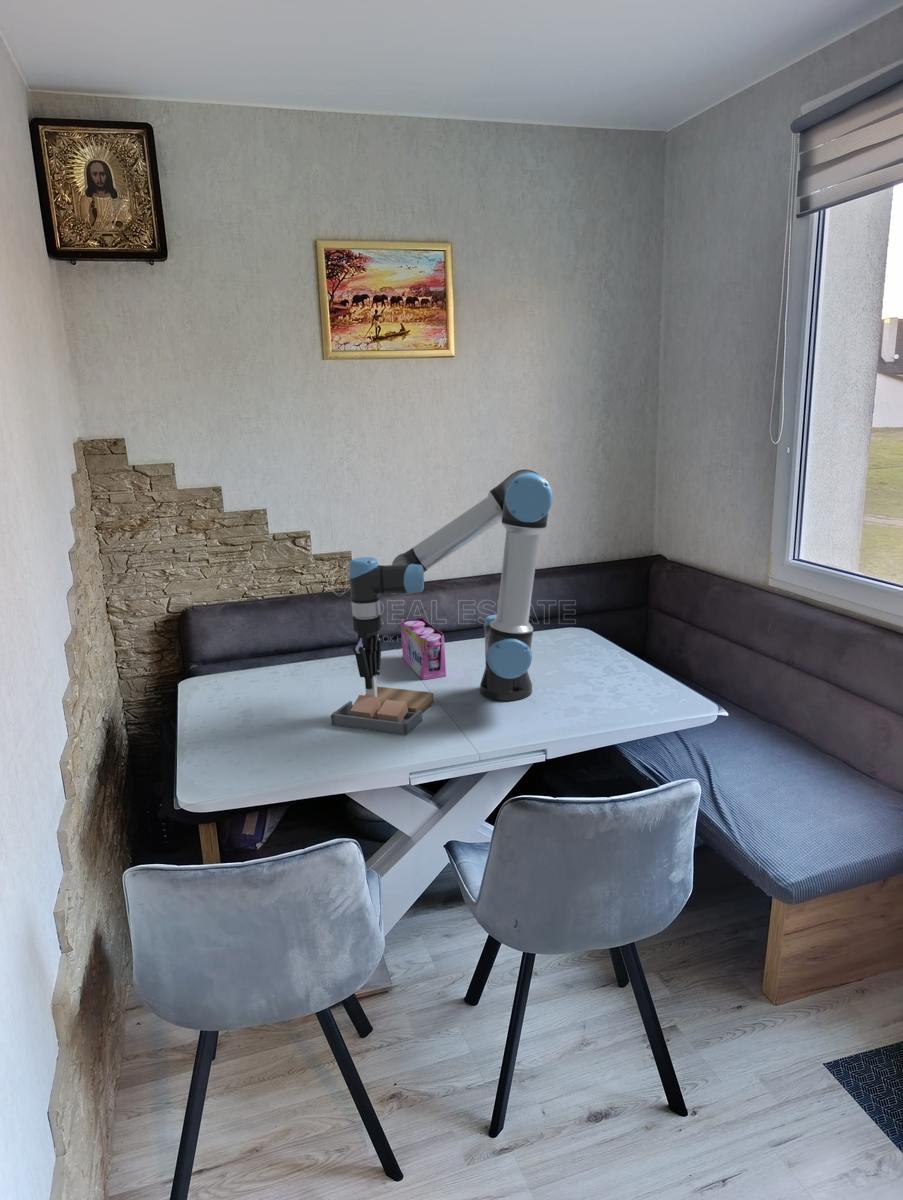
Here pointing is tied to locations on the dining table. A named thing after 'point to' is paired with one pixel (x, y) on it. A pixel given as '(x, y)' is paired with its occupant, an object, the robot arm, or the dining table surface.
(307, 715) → the dining table surface
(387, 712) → the tile
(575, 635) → the dining table surface
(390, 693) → the brown wooden board
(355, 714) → the tile
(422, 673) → the gum box
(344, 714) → the tray
